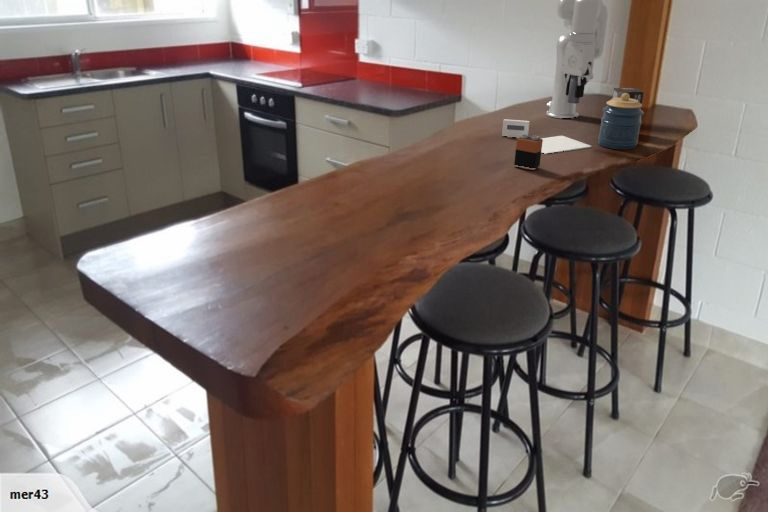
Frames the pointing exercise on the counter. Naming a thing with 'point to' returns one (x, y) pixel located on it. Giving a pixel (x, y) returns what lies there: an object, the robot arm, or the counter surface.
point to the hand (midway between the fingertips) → (574, 95)
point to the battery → (528, 151)
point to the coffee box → (633, 93)
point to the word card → (515, 128)
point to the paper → (561, 144)
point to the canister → (620, 123)
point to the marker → (573, 90)
